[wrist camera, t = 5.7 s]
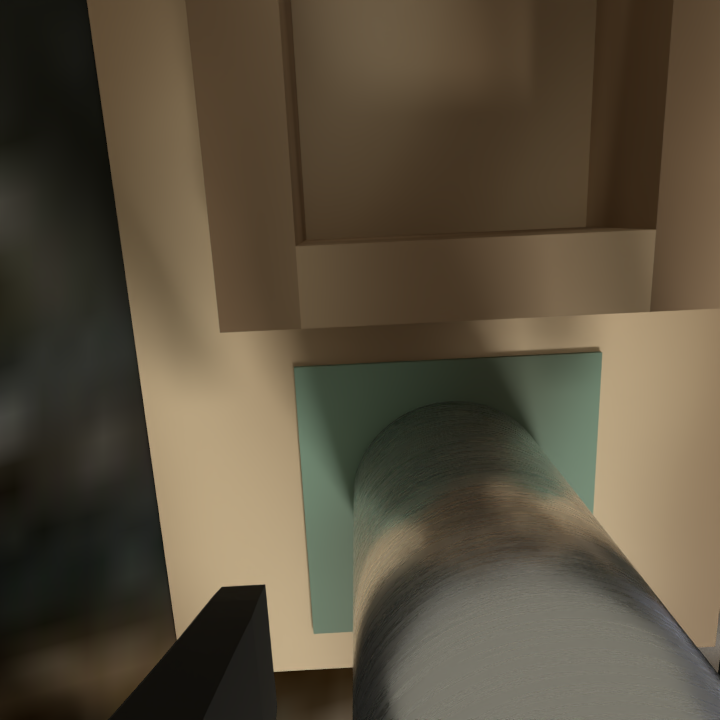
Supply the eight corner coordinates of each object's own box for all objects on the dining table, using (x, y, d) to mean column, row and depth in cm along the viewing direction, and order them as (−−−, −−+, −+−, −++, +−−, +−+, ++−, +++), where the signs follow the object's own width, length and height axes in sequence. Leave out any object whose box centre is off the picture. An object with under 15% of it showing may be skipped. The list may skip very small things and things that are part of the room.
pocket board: (810, -336, 9) (1025, -590, 6) (701, 631, 14) (798, 744, 11) (55, -312, 9) (-82, -562, 6) (188, 660, 13) (144, 783, 10)
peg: (552, 396, 11) (977, 794, 4) (545, 575, 12) (865, 1186, 5) (349, 405, 11) (336, 822, 4) (357, 583, 12) (363, 1207, 5)
